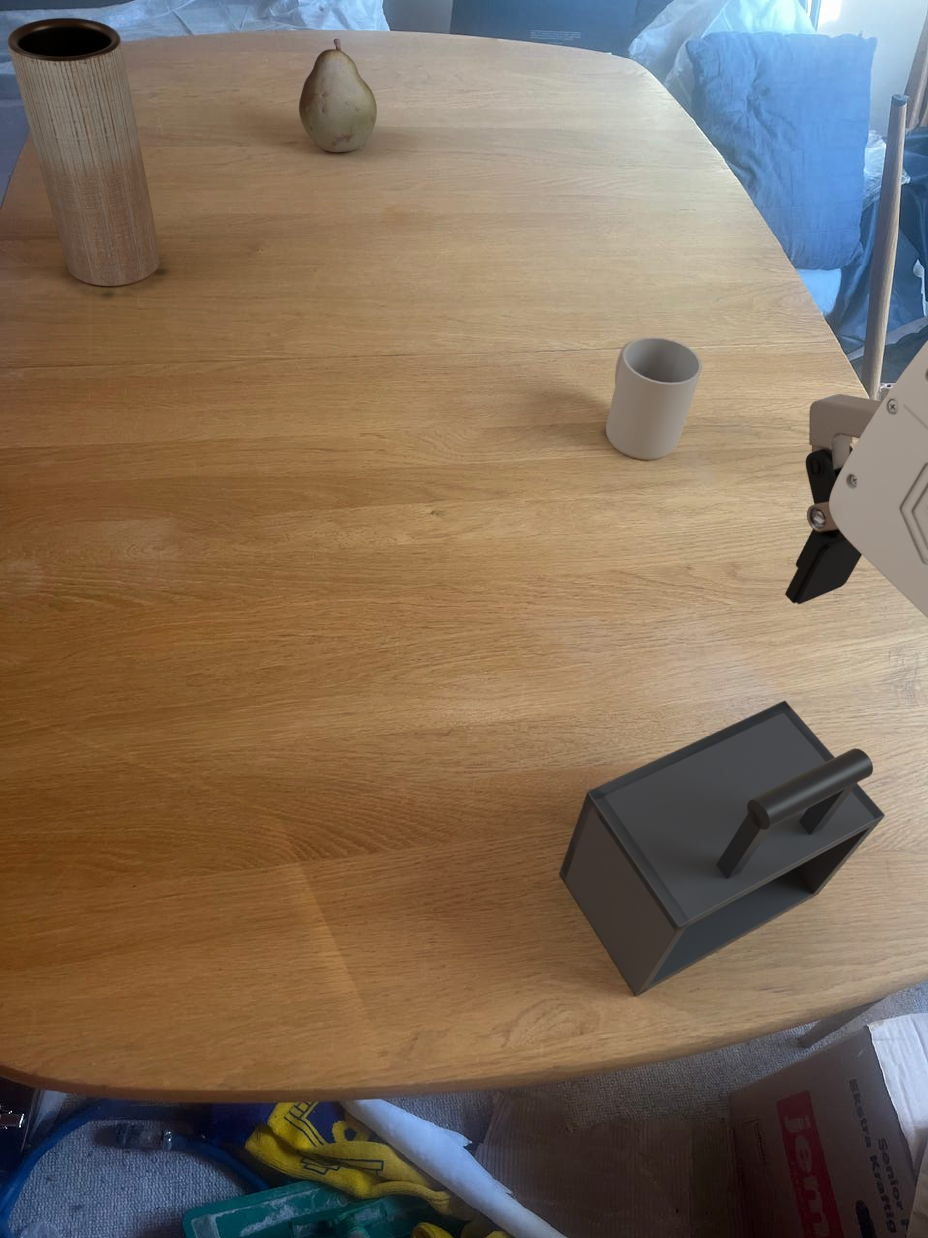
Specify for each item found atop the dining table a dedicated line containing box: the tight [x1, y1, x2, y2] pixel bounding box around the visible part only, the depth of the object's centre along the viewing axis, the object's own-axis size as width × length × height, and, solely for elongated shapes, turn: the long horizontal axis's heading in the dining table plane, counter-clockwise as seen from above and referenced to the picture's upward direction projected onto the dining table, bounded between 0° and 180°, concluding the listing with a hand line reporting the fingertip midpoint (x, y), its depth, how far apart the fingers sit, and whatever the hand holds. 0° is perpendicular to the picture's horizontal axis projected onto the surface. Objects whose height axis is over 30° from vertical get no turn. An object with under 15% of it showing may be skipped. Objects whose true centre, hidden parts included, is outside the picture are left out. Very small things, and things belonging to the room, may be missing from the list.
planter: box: [6, 17, 161, 287], centre depth 98 cm, size 10×10×23 cm
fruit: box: [298, 38, 378, 153], centre depth 124 cm, size 10×9×12 cm
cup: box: [605, 336, 703, 461], centre depth 91 cm, size 7×10×9 cm
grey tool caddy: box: [558, 700, 886, 998], centre depth 57 cm, size 18×15×9 cm
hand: (888, 668), depth 41 cm, fingers open, 9 cm apart
